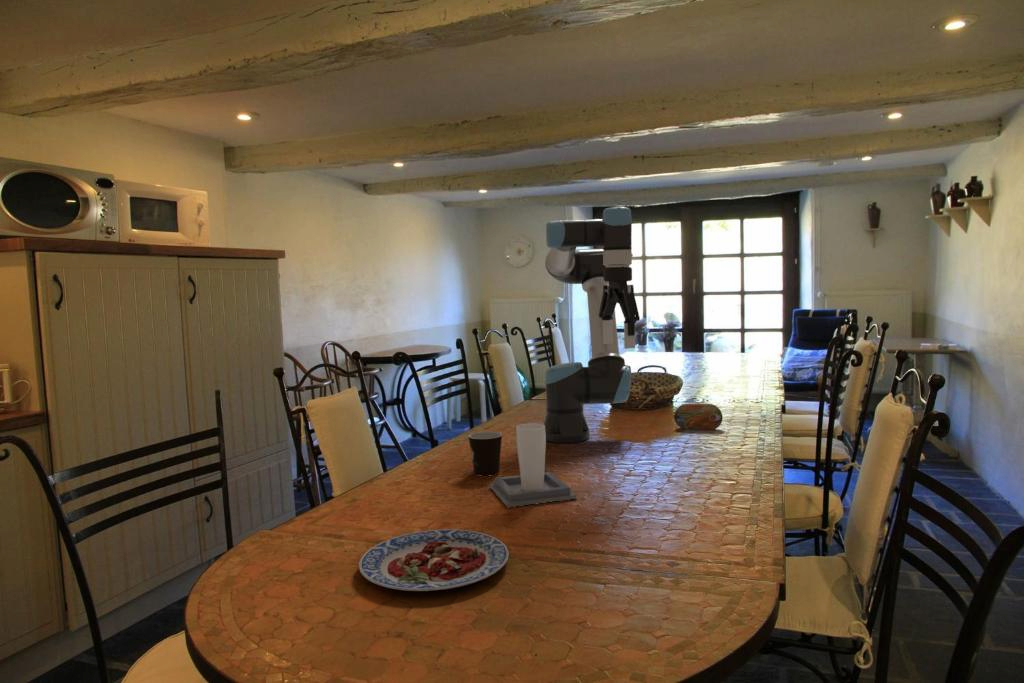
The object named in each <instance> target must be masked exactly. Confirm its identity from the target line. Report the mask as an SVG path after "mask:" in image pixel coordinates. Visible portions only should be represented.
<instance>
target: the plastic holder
mask: <svg viewBox="0 0 1024 683" xmlns="http://www.w3.org/2000/svg"><path fill="white" fill-rule="evenodd" d="M489 488H490V489H492V490H493V491H494V492H495V493H496V494H495V493H494V492H493V491H492V490H491V491H492V492H493V493H494V494H495V496H498V497H499V498H500V499H501V500H502V501H501V500H500V499H499V498H498V497H497V498H498V499H499V500H500V501H501V502H502V504H503V503H504V504H505V505H506V506H507V507H513V508H515V507H514V506H521V507H523V506H522V505H529V504H536V503H543V502H551V501H560V500H569V499H576V500H577V494H575V493H574V492H572V490H571V487H570V486H568V485H567V484H566V483H565V482H564V481H562V480H560V479H559V478H558V477H557V476H556V475H554V474H553V473H552V472H550V471H547V472H545V471H544V489H539V490H531V491H523V490H522V489H521V477H520V474H519V475H511V476H502V477H495V478H494V482H491V483H489ZM569 501H570V500H569ZM504 504H503V505H504ZM505 505H504V506H505ZM506 506H505V507H506ZM529 506H530V505H529ZM507 507H506V508H507Z"/></svg>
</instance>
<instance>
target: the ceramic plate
mask: <svg viewBox="0 0 1024 683" xmlns="http://www.w3.org/2000/svg"><path fill="white" fill-rule="evenodd" d="M509 554H510V553H509V549H508V547H507V545H506V544H505V543H503V541H501V540H499V539H498V538H496V537H494V536H491V535H489V534H486V533H482V532H480V531H479V532H478V531H473V530H467V529H466V530H465V529H441V528H440V529H431V530H429V529H428V530H420V531H415V532H411V533H405V534H402V535H399V536H394V537H391V538H390V539H387V540H384V541H382V542H379V543H378V544H376V545H375V546H372V547H371V548H370V549H368V550H367V551H366V552H365V553H364V554H363V555H362V557H361V558H360V560H359V562H358V563H359V564H358V568H359V572H360V574H361V575H362V576H363V577H364V578H365V579H366V580H368V581H369V582H371V583H373V584H375V585H378V586H381V587H383V588H384V587H385V588H387V589H393V590H399V591H406V592H407V591H408V592H429V591H439V590H449V589H454V588H458V587H459V588H460V587H464V586H467V585H471V584H474V583H476V582H479V581H482V580H484V579H486V578H489V577H491V576H492V575H494V574H496V573H497V572H498V571H500V570H502V568H503V567H504V566H505V565H506V563H507V562H508V559H509Z"/></svg>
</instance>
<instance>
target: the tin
mask: <svg viewBox="0 0 1024 683" xmlns="http://www.w3.org/2000/svg"><path fill="white" fill-rule="evenodd" d="M723 418H724V417H723V413H722V411H721V409H720V408H719V407H718V406H717V405H715V404H712V403H683V404H681V405H679V406H678V407H677V408H676V409H675V411H674V413H673V419H674V422H675V424H676V425H677V427H679V428H681V429H683V430H686V431H687V430H688V431H714V430H716V429H718V428H719V427H720V426H721V424H722V422H723Z"/></svg>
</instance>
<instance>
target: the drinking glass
mask: <svg viewBox="0 0 1024 683" xmlns="http://www.w3.org/2000/svg"><path fill="white" fill-rule="evenodd" d="M543 424H544V423H535V422H534V423H532V422H531V423H530V422H529V423H523V424H522V423H521V424H519V425H516V428H515V429H516V431H515V432H516V433H515V434H516V435H515V436H516V438H515V439H516V441H515V442H516V449H517V460H518V467H519V475H520V477H521V489H522V490H523V491H531V490H539V489H544V473H545V467H546V451H547V450H546V448H547V441H546V432H545V425H543Z"/></svg>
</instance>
